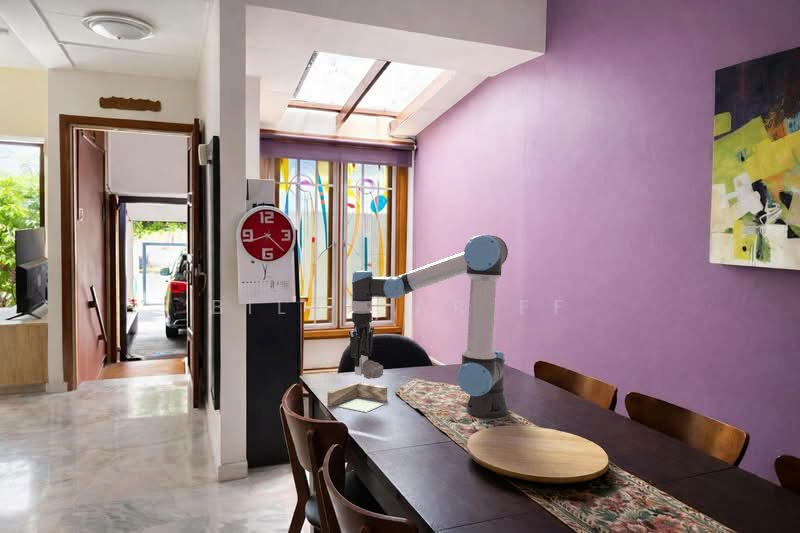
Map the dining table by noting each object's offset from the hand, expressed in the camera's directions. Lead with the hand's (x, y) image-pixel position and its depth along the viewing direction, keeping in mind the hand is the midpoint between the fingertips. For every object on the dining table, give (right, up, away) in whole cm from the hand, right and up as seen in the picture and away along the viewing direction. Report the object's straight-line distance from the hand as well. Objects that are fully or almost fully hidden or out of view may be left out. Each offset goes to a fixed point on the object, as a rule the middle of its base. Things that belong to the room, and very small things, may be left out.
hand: (361, 373), depth 199 cm
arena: (-2, -12, +4) cm, 13 cm away
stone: (+1, 0, -1) cm, 2 cm away
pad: (0, -12, 0) cm, 12 cm away
